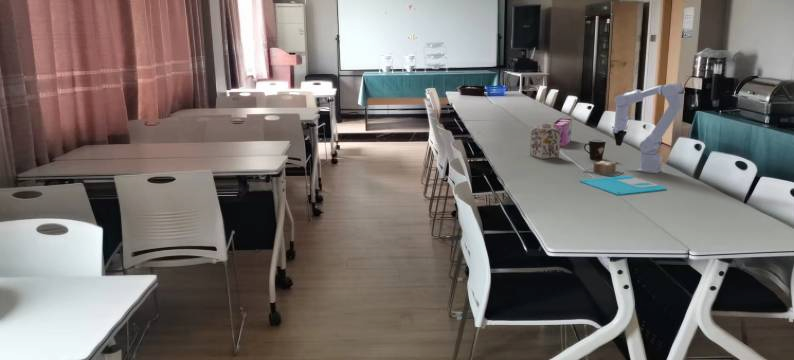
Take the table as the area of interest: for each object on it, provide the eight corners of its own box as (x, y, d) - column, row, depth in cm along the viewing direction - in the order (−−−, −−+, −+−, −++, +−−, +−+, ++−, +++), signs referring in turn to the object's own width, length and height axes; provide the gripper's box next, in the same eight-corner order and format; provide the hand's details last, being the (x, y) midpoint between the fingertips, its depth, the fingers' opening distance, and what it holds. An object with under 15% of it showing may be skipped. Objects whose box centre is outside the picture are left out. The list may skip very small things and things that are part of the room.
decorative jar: (559, 157, 333) (561, 124, 329) (541, 159, 329) (543, 125, 325) (546, 153, 344) (548, 121, 340) (528, 155, 340) (530, 122, 335)
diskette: (578, 182, 281) (578, 180, 281) (628, 177, 291) (628, 175, 290) (617, 196, 257) (617, 194, 257) (669, 190, 267) (670, 188, 267)
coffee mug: (602, 157, 334) (603, 139, 331) (606, 160, 326) (607, 142, 323) (580, 157, 335) (581, 138, 333) (583, 160, 327) (584, 141, 324)
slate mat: (623, 173, 297) (623, 172, 297) (615, 176, 290) (615, 175, 290) (591, 168, 308) (591, 167, 307) (583, 171, 300) (583, 170, 300)
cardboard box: (616, 162, 300) (608, 165, 293) (615, 170, 301) (607, 173, 294) (602, 160, 305) (594, 163, 297) (601, 168, 306) (593, 171, 298)
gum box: (564, 146, 364) (566, 124, 361) (551, 145, 367) (552, 123, 364) (570, 140, 385) (572, 118, 382) (558, 139, 389) (559, 118, 385)
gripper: (618, 116, 316) (616, 142, 320) (607, 119, 306) (605, 146, 309) (632, 117, 312) (629, 144, 315) (621, 120, 301) (619, 148, 304)
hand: (618, 145), depth 312 cm, fingers closed
